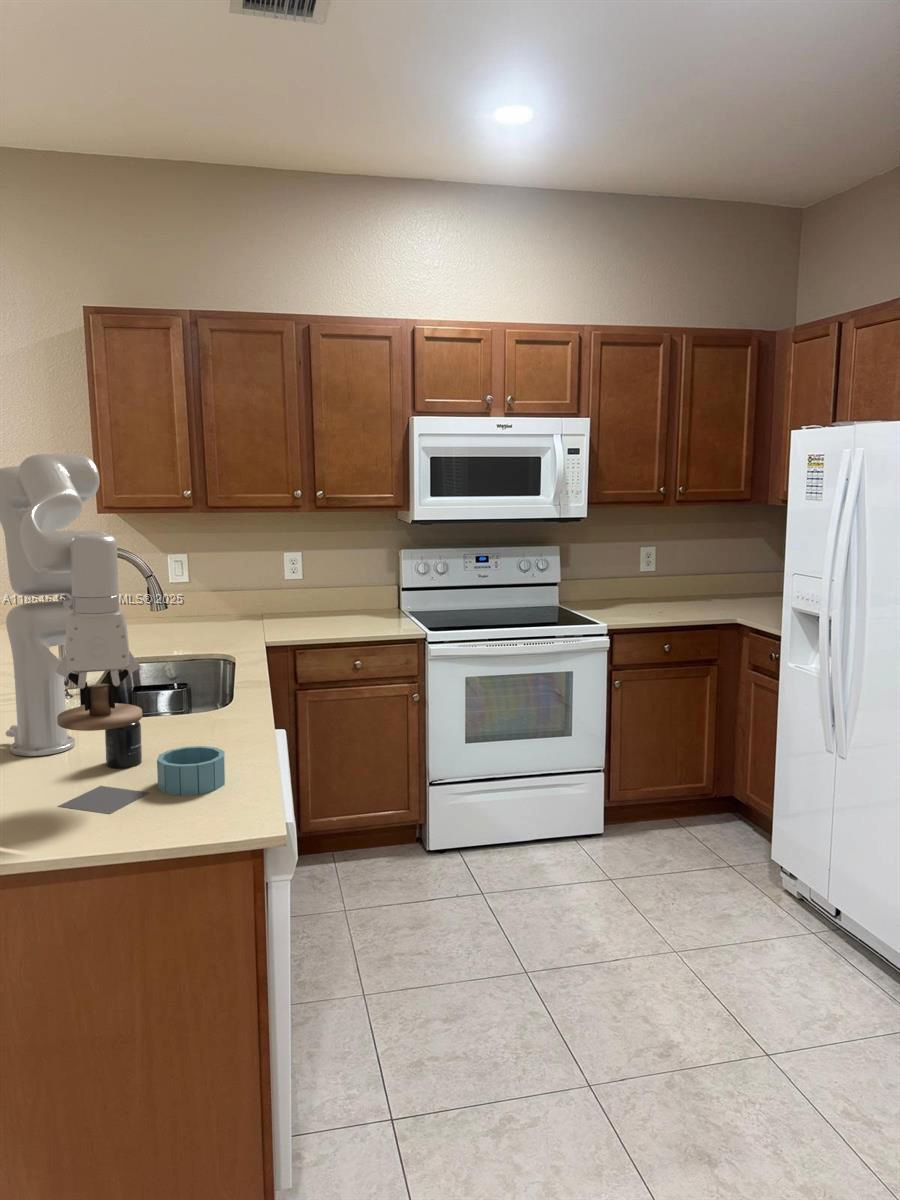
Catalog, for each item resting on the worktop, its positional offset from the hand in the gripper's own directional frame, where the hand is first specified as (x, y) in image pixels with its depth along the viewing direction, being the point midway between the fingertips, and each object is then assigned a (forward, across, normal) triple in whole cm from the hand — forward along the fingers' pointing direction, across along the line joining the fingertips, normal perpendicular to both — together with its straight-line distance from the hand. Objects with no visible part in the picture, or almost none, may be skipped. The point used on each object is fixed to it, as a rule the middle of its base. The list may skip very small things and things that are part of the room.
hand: (100, 706), depth 152 cm
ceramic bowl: (+17, +16, +2) cm, 24 cm away
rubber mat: (+17, 0, -1) cm, 17 cm away
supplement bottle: (+18, +4, +20) cm, 27 cm away
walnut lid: (+2, 0, 0) cm, 2 cm away
